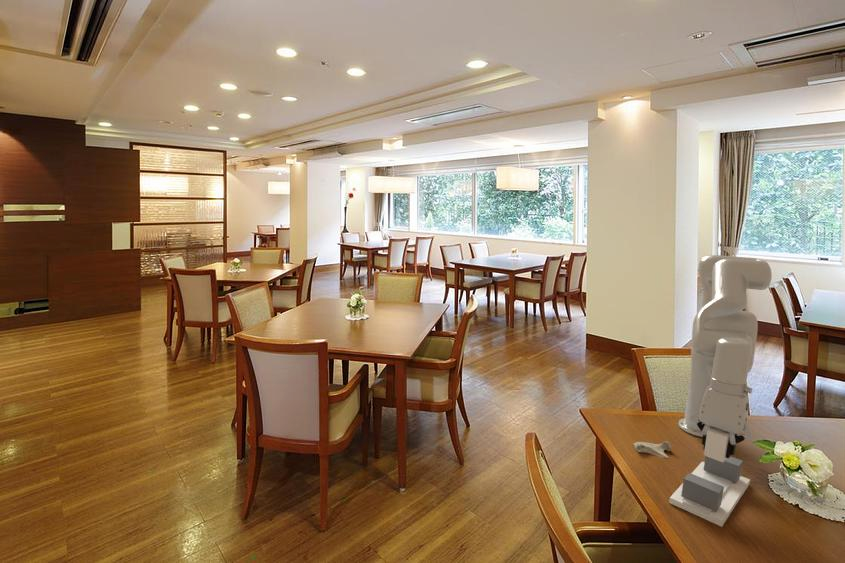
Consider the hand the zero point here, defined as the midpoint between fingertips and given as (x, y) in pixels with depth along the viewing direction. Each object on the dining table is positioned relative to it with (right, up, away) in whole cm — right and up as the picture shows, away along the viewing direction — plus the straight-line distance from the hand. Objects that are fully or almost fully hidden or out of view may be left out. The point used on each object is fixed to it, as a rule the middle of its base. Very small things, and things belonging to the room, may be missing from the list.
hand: (717, 451), depth 125 cm
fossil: (-5, -9, +23) cm, 26 cm away
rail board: (0, -12, +2) cm, 12 cm away
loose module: (0, -1, 0) cm, 1 cm away
